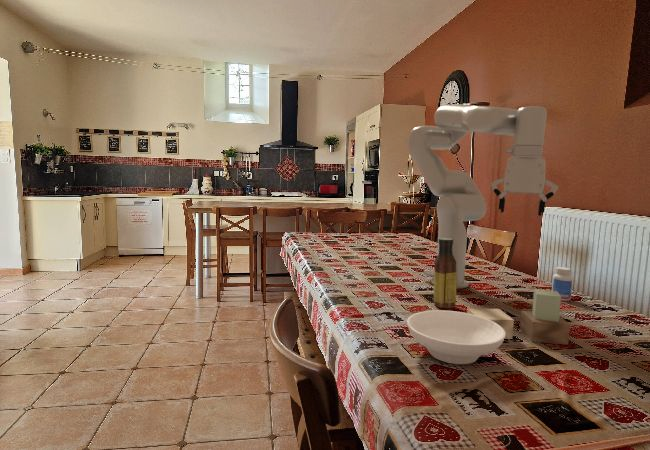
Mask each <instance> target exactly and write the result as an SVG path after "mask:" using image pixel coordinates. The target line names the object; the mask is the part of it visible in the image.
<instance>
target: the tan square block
mask: <svg viewBox="0 0 650 450" xmlns="http://www.w3.org/2000/svg"><path fill="white" fill-rule="evenodd" d="M520 313H521V314H520V323H519V330H520V331H521V330H522V331H521V333H523V335H524V336H525V337H526V336H527V337H528V338H529V339H530V340H529V339H528V338H527V337H526V338H527V339H528V340H529V341H530V342H531V341H533V342H532V343H541V342H545V343H546V344H556V345H569V341H570V340H569V339H570V330H571V329H570V328H571V324H570V323H569V322H568V321H566V320H565V319H564V318H563V317H561V316H560V315H559V322H554V321H546V320H538V319H534V316H533V314H532V310H531V311H530V310H521V311H520ZM545 343H544V344H545Z"/></svg>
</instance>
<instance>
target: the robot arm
mask: <svg viewBox="0 0 650 450" xmlns="http://www.w3.org/2000/svg"><path fill="white" fill-rule="evenodd" d="M547 116H548V110H547V108H545V107H543V106H542V105H541V106H538V105H529V106H528V105H527V106H523V107H520V108H518V109H516V108H508V107H502V106H501V107H498V106H486V105H485V106H484V105H483V106H481V105H475V104H474V105H473V104H472V105H471V104H470V105H469V104H444V105H441V106H439V107H438V108H437V110H436V111H435V113H434V117H433V118H434V123H435V124H436V125H420V126H419V125H418V126H416V127H414V128H413V129H411V131H410V132H409V134H408V140H407V146H408V147H407V148H408V151H409V155H410V157H411V159H412V161H414V163H415V165H416V166H417V168H418V169H419V171H420V173H421V175H422V177H423V179H424V181H425V182H426V185H427V186H428V188H429V190H430V192H431V193H432V194H433V195H434V196H437V197H440V198H439V200H438V201H437V203H436V215H437V222H438V223H437V225H438V229H437V234H438V235H437V251H436V257H437V256H438V254H439V243H438V242H439V238H452V239H453V247H452V252H453V253H452V254H453V256H454V258H455V260H456V271H457V274H456V290H459V289H465V288H468V287H469V286H470V285H469V281H468V280H465V274H466V273H465V272H466V257H467V256H466V255H467V242H468V241H467V240H468V234H467V229H466V226H465V224H464V222H474V221H479V220H481V219H482V218H484V217H485V216H486V213H487V203H486V200H485V198H484V195H483V194H482V192H481V190H479V189H480V188H479V187H478V186H477V184H476V182H475V181H474V179H473V177H472V176H471V175H470V174H469V173H467V172H465V171H464V170H453V169H449V168H448V167H447V166H446V165H445V162H444V161H443V160H442V158H441V157H440V156H439V155H438V154H437V153H436V152H435V151H446V150H447V151H448V150H450V149H452V148H453V147H454V146H455V145H457V144H458V143H459V142H460V141H461V139H463V138H464V137H465V136H466V135H467V134H468V133H481V134H488V135H489V134H490V135H499V136H500V135H502V136H513V144H512V146H511V147H507V149H506V153H507V154H511V155H512V156H509V157H508V160H507V162H506V168H505V173H504V177H501V178H498V179H497V180H494V181H492V182H491V183H490V186H491V189H492V190H493V193H494V194H495V195H496V196H497V197H498V198H499V201H498V202H499V203H498V210H500V213H504V212H505V203H506V198H505V196H506V195H507V194H509V193H511V194H525V195H526V194H527V195H537V196H538V197H539V198H540V200H539V202H538V211H537V215H538V216H539V217H541V216H542V213H544V214H545V208H546V202H547V201H548V200H549V199H551V198H553V196H554V195H555V194H556V192H557V191H558V190H559V187H560V186H559V185H557V184H555V183H553V182H552V181H550V180H548V179H546V158H545V157H543V150H544V144H545V143H544V141H545V132H546V125H547ZM499 184H500V185H501V184H503V191H500V190H499V188H498V185H499ZM545 185H546V186H548V187H550V188H551V189H550V191H549V192H548V193H547V194H544V193H543V192H544V190H545ZM434 270H435V269H433V270H429V269H424V270H423V275H424V276H426V277H432V278H431V279H430V283H431V284H432V285H434Z"/></svg>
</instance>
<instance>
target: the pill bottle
mask: <svg viewBox="0 0 650 450" xmlns="http://www.w3.org/2000/svg"><path fill="white" fill-rule="evenodd" d="M571 272H572V270H571V268H569V267H565V266H557V267H555V273H554V274H553V275H552V283H551V291H557V292H558V293H559V294H560V296H561V302H562V301H564V302H567V301H570V300H571V297H572V289H573V276H572V275H570V274H571Z"/></svg>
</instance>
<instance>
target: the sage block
mask: <svg viewBox="0 0 650 450" xmlns="http://www.w3.org/2000/svg"><path fill="white" fill-rule="evenodd" d="M561 302H562V300H561V296H560V294H559V293H558V292H557V291H552V290H549V289H542V288H541V289H540V288H539V289H538V288H533V298H532V310H531V311H532V314H533V316H534V319H538V320H546V321H554V322H559V316H560V314H561V313H560V310H561Z"/></svg>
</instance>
